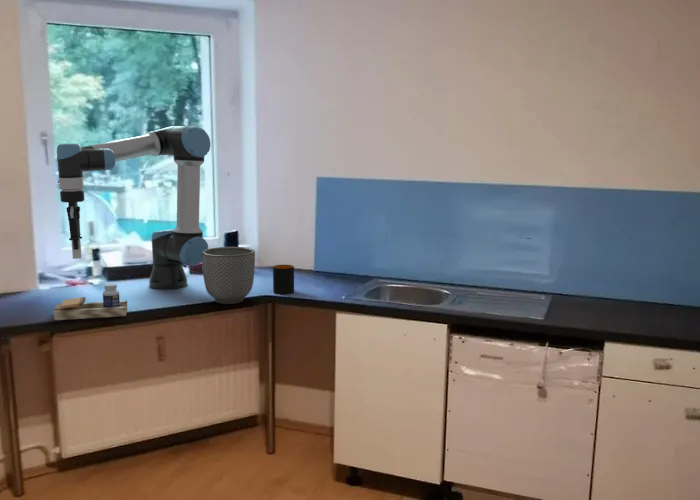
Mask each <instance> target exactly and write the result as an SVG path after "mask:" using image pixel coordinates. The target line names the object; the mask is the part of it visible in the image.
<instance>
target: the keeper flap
mask: <svg viewBox="0 0 700 500" xmlns="http://www.w3.org/2000/svg"><path fill="white" fill-rule="evenodd" d="M85 301H86V296H82V297H75V298H70V299H69V298H68V299H63V301H62V303H60V304H61V309H62V308H69V307H76V306H82V305H83V304H84V303H86V302H85Z"/></svg>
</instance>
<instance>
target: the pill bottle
mask: <svg viewBox="0 0 700 500" xmlns="http://www.w3.org/2000/svg"><path fill="white" fill-rule="evenodd" d="M117 285H118V284H116V283H106V284H104V291H102V302H103V308H107V307H120V301H121V300H120V292H119V289H117V287H118V286H117Z"/></svg>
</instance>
